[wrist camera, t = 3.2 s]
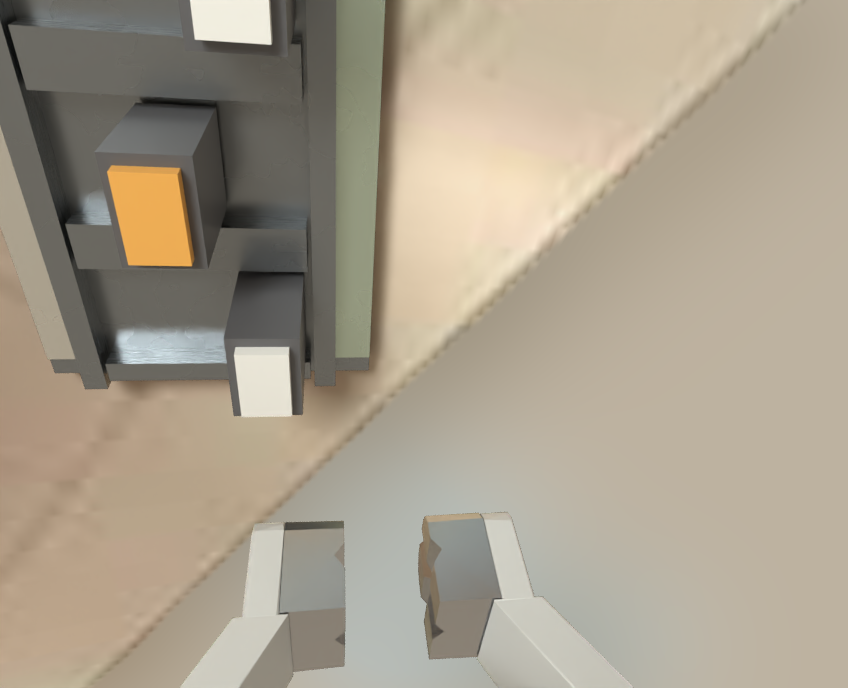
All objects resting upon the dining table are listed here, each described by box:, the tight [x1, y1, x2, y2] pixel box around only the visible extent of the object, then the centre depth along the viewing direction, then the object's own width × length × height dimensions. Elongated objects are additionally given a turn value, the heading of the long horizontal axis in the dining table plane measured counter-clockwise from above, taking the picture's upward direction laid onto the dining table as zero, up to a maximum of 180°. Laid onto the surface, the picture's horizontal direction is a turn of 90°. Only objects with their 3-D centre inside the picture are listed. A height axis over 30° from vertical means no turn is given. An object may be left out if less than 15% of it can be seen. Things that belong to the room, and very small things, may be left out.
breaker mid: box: [95, 102, 227, 269], centre depth 22 cm, size 4×3×6 cm
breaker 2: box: [224, 271, 306, 417], centre depth 26 cm, size 4×3×6 cm
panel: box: [0, 0, 385, 389], centre depth 24 cm, size 22×15×2 cm
